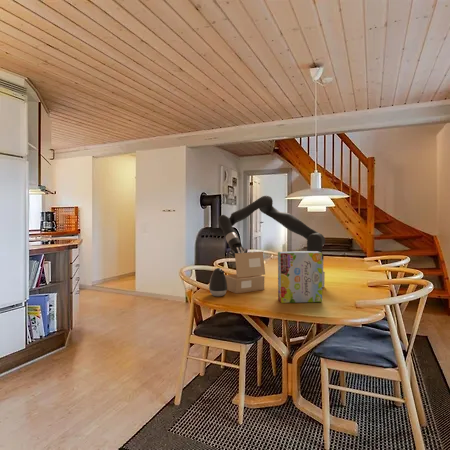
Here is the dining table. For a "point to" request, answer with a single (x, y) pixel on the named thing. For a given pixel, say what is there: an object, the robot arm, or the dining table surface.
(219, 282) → the dark grey egg shape
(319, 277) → the snack box
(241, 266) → the lid
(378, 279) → the dining table surface
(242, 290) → the mailer box
